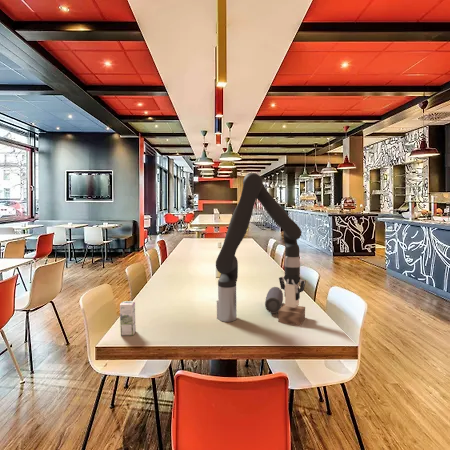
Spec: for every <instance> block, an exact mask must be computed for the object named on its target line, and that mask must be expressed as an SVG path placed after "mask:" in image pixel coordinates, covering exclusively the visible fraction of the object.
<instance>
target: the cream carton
mask: <svg viewBox="0 0 450 450" xmlns="http://www.w3.org/2000/svg"><path fill="white" fill-rule="evenodd" d="M298 284H299V283H298ZM298 284H297V285H296V286H298ZM284 299H285V300H284V304H285V306H288V307H293V308H295V307H296V306H300V301H299V300H300V299H299V300H296V289H295V285H292V284H286V283H285V291H284Z"/></svg>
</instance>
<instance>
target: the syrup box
mask: <svg viewBox="0 0 450 450" xmlns="http://www.w3.org/2000/svg"><path fill="white" fill-rule="evenodd" d="M119 319H120V320H119V323H120V325H119V327H120V336H124V337H125V336H134V335H135V332H136V331H137V329H136V328H137V327H136V326H137V325H136V301H135V300H129V301H128V300H126V301H123V300H122V302H120V304H119Z"/></svg>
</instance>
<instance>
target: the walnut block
mask: <svg viewBox="0 0 450 450" xmlns="http://www.w3.org/2000/svg"><path fill="white" fill-rule="evenodd" d="M277 313H278V321H277V322H278V323H282V324H289V325H290V324H291V325H297V326H301V325H302V324H303V322H304V320H305V319H306V306H303V305H302V306H300V305H298V306H296V307H295V308H293V307H288V306H285V303H283V304H282V306H281V308H280V309H279V311H278V312H277Z"/></svg>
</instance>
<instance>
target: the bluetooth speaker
mask: <svg viewBox="0 0 450 450" xmlns="http://www.w3.org/2000/svg"><path fill="white" fill-rule="evenodd" d="M282 290H283V289H281V287H278V286H273V287H270V289H269V290H268V292H267V293H266V297H265V302H264V305H265V309H266V311H267V312H268V313H271V314H277V313H278V311H279V309H280V308H281V307H282V306H283V302H284V292H283V291H282Z"/></svg>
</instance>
